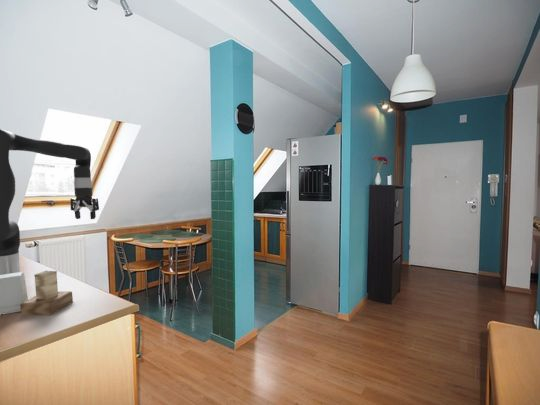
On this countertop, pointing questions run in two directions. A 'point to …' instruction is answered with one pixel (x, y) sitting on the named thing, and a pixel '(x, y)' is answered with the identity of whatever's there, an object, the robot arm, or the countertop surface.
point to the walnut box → (46, 304)
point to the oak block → (46, 284)
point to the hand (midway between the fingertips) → (85, 218)
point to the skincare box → (12, 292)
